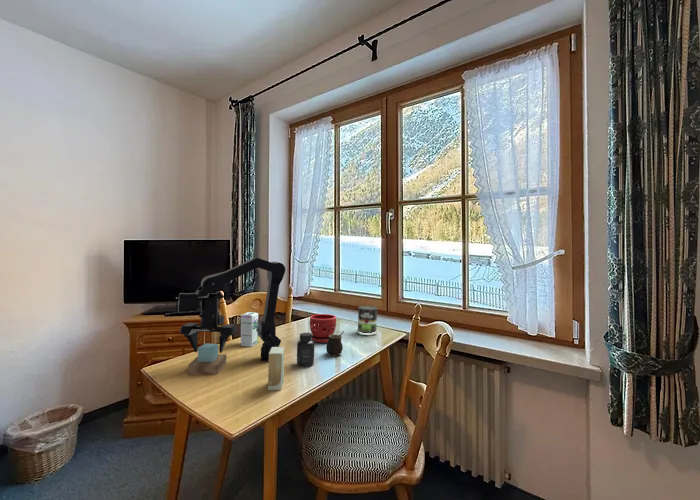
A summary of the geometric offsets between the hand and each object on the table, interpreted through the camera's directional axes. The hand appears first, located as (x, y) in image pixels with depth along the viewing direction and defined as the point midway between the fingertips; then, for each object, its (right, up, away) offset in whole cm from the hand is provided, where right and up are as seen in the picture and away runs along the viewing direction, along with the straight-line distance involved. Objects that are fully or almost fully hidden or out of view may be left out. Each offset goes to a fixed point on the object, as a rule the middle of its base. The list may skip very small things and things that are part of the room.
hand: (208, 352), depth 113 cm
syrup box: (+6, -6, +28) cm, 29 cm away
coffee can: (+62, -8, +52) cm, 81 cm away
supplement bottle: (+35, -7, +7) cm, 36 cm away
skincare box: (+28, -8, -12) cm, 31 cm away
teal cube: (0, -3, 0) cm, 3 cm away
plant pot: (+39, -7, +38) cm, 55 cm away
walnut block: (0, -7, 0) cm, 7 cm away
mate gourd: (+46, -8, +19) cm, 50 cm away
